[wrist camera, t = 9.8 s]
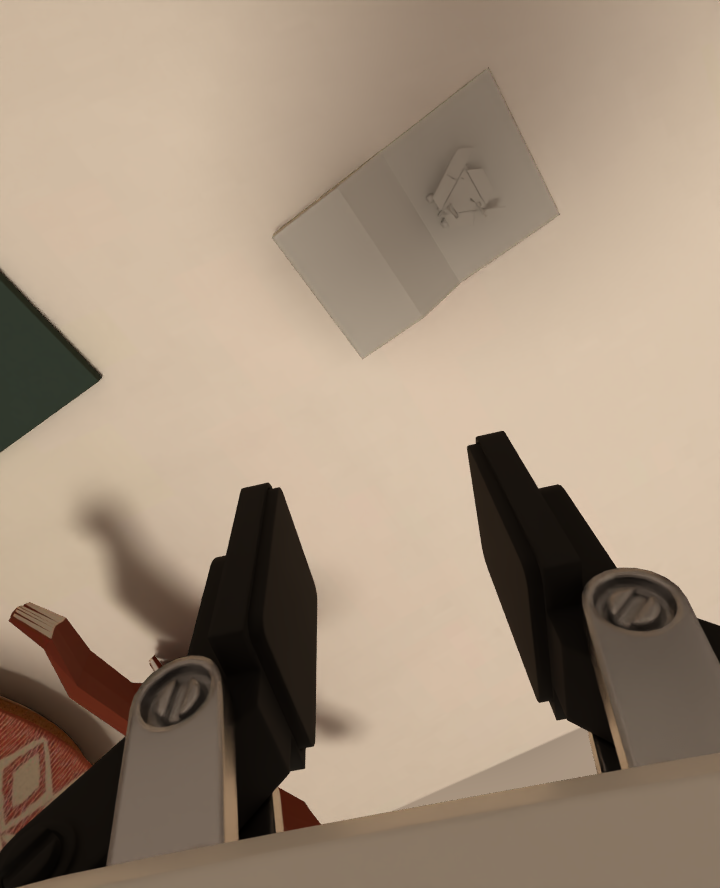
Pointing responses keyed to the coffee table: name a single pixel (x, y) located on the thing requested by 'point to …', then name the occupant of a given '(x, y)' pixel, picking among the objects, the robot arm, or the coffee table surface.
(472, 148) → the white pop-up card
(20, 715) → the planter
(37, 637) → the decorative bird
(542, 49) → the coffee table surface
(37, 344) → the felt mat
